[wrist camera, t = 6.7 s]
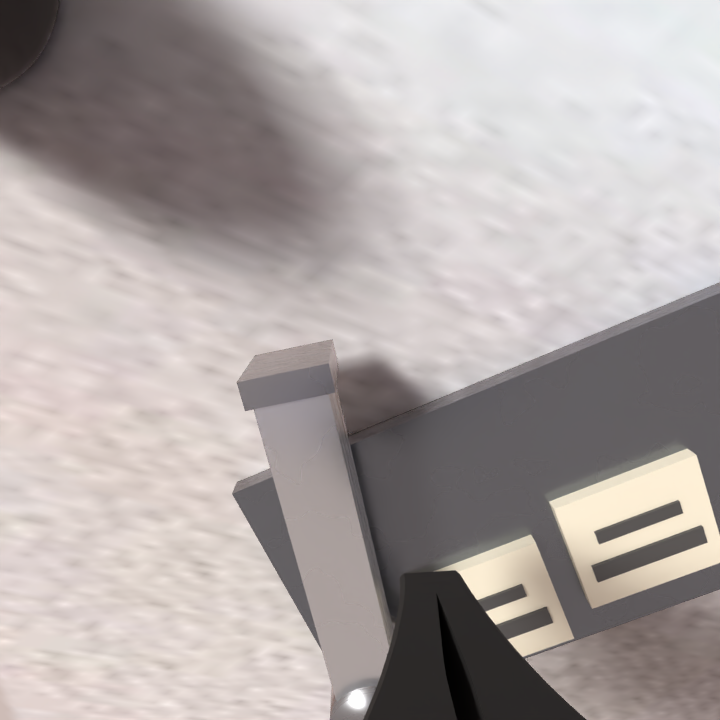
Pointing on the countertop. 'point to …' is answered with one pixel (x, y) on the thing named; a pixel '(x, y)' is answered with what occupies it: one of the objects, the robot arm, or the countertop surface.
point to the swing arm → (323, 514)
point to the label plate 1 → (517, 595)
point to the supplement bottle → (23, 34)
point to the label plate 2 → (639, 528)
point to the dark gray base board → (531, 459)
